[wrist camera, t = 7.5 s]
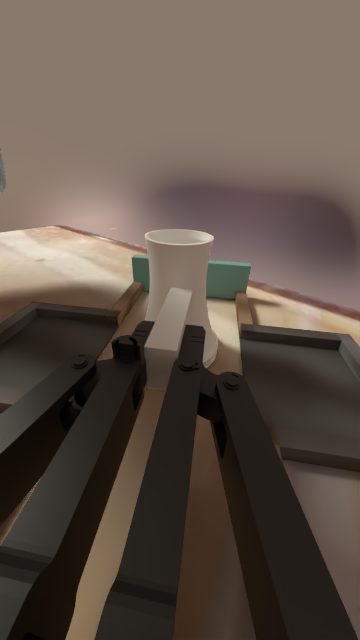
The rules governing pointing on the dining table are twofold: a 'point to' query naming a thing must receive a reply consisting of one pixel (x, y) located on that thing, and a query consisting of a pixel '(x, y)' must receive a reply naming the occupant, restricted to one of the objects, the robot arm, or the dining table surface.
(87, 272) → the dining table surface
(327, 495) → the dining table surface
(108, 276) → the dining table surface
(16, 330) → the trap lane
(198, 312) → the vase
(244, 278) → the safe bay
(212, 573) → the dining table surface
